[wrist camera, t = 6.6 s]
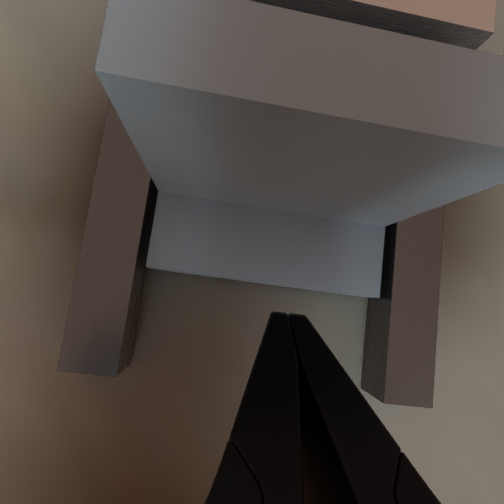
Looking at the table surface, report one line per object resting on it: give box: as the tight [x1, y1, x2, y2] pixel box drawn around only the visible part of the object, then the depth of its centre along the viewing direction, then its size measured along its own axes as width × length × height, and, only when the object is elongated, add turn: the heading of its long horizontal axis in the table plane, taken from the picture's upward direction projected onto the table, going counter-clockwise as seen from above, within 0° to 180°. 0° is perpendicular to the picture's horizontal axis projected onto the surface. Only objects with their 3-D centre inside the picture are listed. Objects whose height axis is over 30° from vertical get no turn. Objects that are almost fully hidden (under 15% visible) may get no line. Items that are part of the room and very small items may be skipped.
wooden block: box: [249, 0, 496, 50], centre depth 12 cm, size 5×6×9 cm
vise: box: [57, 99, 444, 408], centre depth 13 cm, size 17×14×6 cm
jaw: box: [95, 0, 504, 298], centre depth 11 cm, size 6×9×9 cm, turn 83°
